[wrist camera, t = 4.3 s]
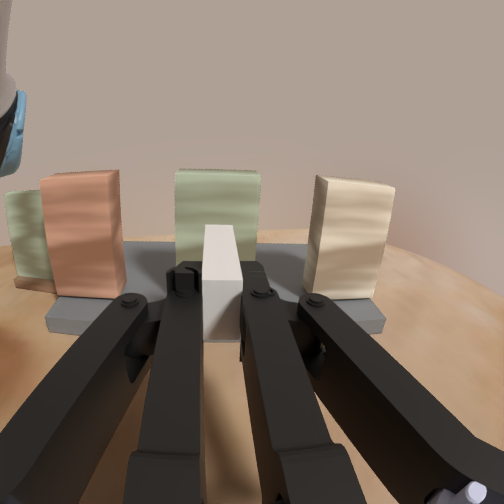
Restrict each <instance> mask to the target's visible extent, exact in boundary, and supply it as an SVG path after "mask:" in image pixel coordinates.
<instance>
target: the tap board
mask: <svg viewBox="0 0 504 504" xmlns="http://www.w3.org/2000/svg"><path fill="white" fill-rule="evenodd" d="M307 246H308V244H271V243H256V256H255V261H258V262H259V263H260V264H261V265H263V267H264V270H265V273H266V276H267V279H268V282H269V285H270V287H271V288H273V289H275V290H276V291H277V293H278V295H279V297H280V299H282V300H286V301H290V302H296V303H298V301H299V297H300V296H302V295H303V294H307V292H306V290H305V288H304V286H303V284H302V281H303V274H304V267H305V260H306V253H307ZM123 249H124V259H125V268H126V277H127V283H126V285H125V287H124V289H123V291H122V293H121V295H122V294H125V293H138V294H142V295H144V296H145V297H146V298H147V301H148V303H149V302H155V301H160V300H162V299H164V298H166V296H167V282H166V272H167V271H168V270H169V269H171V268H172V267H176V247H175V242H139V241H123ZM113 300H114V298H95V297H78V296H63V295H60V297H59V298H58V299H57V301H56V302H55V303H54V305H53V306H52V307H51V309H50V310H49V312H48V313H47V314H46V316H45V319H46V323H47V326H48V329H49V332H55V333H63V334H72V335H82V333H83V332H84V331H85V330H86V329H87V328H88V327H89V326H90V325H91V324H92V322H93V321H94V320H95V319H96V318H97V317H98V316H99V315H100V314H101V313H102V312H103V311H104V309H105V308H106V307H107V306H108V305H109V304H110V303H111V302H112V301H113ZM331 300H332V301H333V302H334V303H335V304H336V305H337V306H338V307H340V308H341V309H342V310H343V311H344V312H345V313H346V314H347V315H348V316H349V317H350V318H351V319H353V320H354V321H355V322H356V323H357V324H358V325H359V326H360V327H361V328H362V329H363V330H364V331H365V332H366V333H368V334H376V333H382V330H383V327H384V324H385V321H386V317H385V316H384V315H383V314H382V313H381V311H380V310H379V309H378V308H377V306H376V305H375V304H374V303H373V301H372V300H371V299H370V298H356V299H331ZM203 342H241V334H240V340H203Z"/></svg>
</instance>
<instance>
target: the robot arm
mask: <svg viewBox="0 0 504 504" xmlns="http://www.w3.org/2000/svg"><path fill="white" fill-rule="evenodd" d="M11 5H12V0H0V177H3V176H6V175H11V174H13V173H15V172H16V170H17V169H18V168H19V165H20V161H21V154H22V143H23V128H24V120H25V109H26V93H25V92H24V91H19V90H17V91H16V85H15V81H14V79H13V78H12V77H11V76H10V75H9V74H7V73H5V71H6V50H7V37H8V27H9V19H10V12H11ZM166 282H167V296H166V298H164V299H162V300H160V301H155V302H149V303H148V301H147V298H146V297H145V296H144V295H142V294H138V293H125V294H122V295H120V296H118V297H116V298H115V299H114V300H113V301H112V302H111V303H110V304H109V305H108V306H107V307H106V308H105V309H104V311H103V312H102V313H101V314H100V315H99V316H98V317H97V318H96V319H95V320H94V321H93V322H92V324H91V325H90V326H89V327H88V328H87V329H86V330H85V331H84V332H83V333H82V335H81V336H80V337H79V338H78V339H77V340H76V341H75V342H74V344H73V345H72V346H71V347H70V348H69V349H68V350H67V352H66V353H65V354H64V355H63V356H62V357H61V358H60V360H59V361H58V362H57V363H56V364H55V365H54V367H53V368H52V369H51V370H50V371H49V373H48V374H47V375H46V376H45V377H44V379H43V380H42V381H41V382H40V383H39V385H38V386H37V387H36V388H35V389H34V391H33V392H32V393H31V394H30V396H29V397H28V398H27V399H26V401H25V402H24V403H23V404H22V406H21V407H20V408H19V409H18V411H17V412H16V413H15V415H14V416H13V417H12V418H11V420H10V421H9V422H8V424H7V425H6V426H5V428H4V429H3V430H2V432H1V433H0V504H78V502H79V500H80V498H81V496H82V494H83V492H84V490H85V488H86V486H87V484H88V482H89V480H90V479H91V477H92V475H93V473H94V471H95V469H96V467H97V465H98V463H99V461H100V459H101V457H102V455H103V453H104V451H105V449H106V448H107V446H108V444H109V442H110V440H111V438H112V436H113V434H114V432H115V430H116V429H117V427H118V425H119V423H120V421H121V419H122V417H123V416H124V414H125V412H126V410H127V408H128V406H129V404H130V403H131V401H132V399H133V397H134V395H135V393H136V392H137V390H138V388H139V386H140V384H141V383H142V381H143V379H144V377H145V375H146V374H147V372H148V370H149V368H150V366H151V365H152V366H151V371H150V377H149V382H148V388H147V394H146V399H145V405H144V411H143V418H142V424H141V431H140V438H139V445H138V449H137V451H134V452H132V453H131V455H130V458H129V463H128V469H127V476H126V484H125V493H124V502H123V504H207V496H206V476H205V449H204V401H203V340H240V334H241V343H240V361H239V362H242V364H243V371H244V379H245V386H246V393H247V400H248V407H249V414H250V421H251V428H252V434H253V441H254V448H255V454H256V461H257V467H258V473H259V480H260V486H261V493H262V504H367V502H366V500H365V497H364V494H363V492H362V489H361V486H360V484H359V481H358V478H357V476H356V473H355V470H354V468H353V465H352V463H351V460H350V457H349V455H348V453H347V451H346V449H345V447H344V446H343V445H342V444H336V443H334V442H332V440H331V438H330V435H329V432H328V429H327V427H326V424H325V421H324V418H323V415H322V413H321V410H320V407H319V404H318V401H317V399H316V396H315V393H316V395H317V396H318V397H319V399H320V400H321V401H322V403H323V404H324V406H325V407H326V408H327V410H328V411H329V412H330V414H331V415H332V417H333V418H334V419H335V421H336V422H337V423H338V425H339V426H340V427H341V429H342V430H343V432H344V433H345V434H346V436H347V437H348V438H349V440H350V441H351V442H352V444H353V445H354V446H355V448H356V449H357V450H358V452H359V453H360V454H361V456H362V457H363V458H364V460H365V461H366V462H367V464H368V465H369V466H370V468H371V469H372V470H373V471H374V473H375V474H376V475H377V477H378V478H379V479H380V481H381V482H382V483H383V485H384V486H385V487H386V488H387V490H388V491H389V492H390V494H391V495H392V496H393V497H394V498H395V499H396V500H397V502H398V503H399V504H504V451H502V450H500V449H498V448H496V447H494V446H492V445H490V444H488V443H486V442H484V441H482V440H480V439H478V438H476V437H475V436H474V435H473V434H472V433H471V432H470V431H469V430H468V429H467V428H466V427H465V426H464V425H463V424H462V423H461V422H460V421H459V420H458V419H457V418H456V417H455V416H454V415H453V414H451V413H450V412H449V411H448V410H447V409H446V408H445V407H444V406H443V405H442V404H441V403H440V402H439V401H438V400H437V399H436V398H435V397H434V396H433V395H432V394H431V393H430V392H429V391H428V390H427V389H426V388H425V387H424V386H423V385H421V384H420V383H419V382H418V381H417V380H416V379H415V378H414V377H413V376H412V375H411V374H410V373H409V372H408V371H407V370H406V369H405V368H404V367H403V366H402V365H400V364H399V363H398V362H397V361H396V360H395V359H394V358H393V357H392V356H391V355H390V354H389V353H388V352H387V351H386V350H385V349H384V348H382V347H381V346H380V345H379V344H378V343H377V342H376V341H375V340H374V339H373V338H372V337H371V336H370V335H369V334H368V333H366V332H365V331H364V330H363V329H362V328H361V327H360V326H359V325H358V324H357V323H356V322H355V321H354V320H353V319H351V318H350V317H349V316H348V315H347V314H346V313H345V312H344V311H343V310H342V309H341V308H340V307H338V306H337V305H336V304H335V303H334V302H333V301H332V300H331V299H330V298H328V297H327V296H324V295H321V294H319V293H307V294H303V295H302V296H300V297H299V301H298V303H296V302H290V301H286V300H282V299H280V297H279V295H278V293H277V291H276V290H275V289H273V288H271V287H270V285H269V282H268V279H267V276H266V273H265V270H264V267H263V265H261V264H260V263H259V262H258V261H239V257H238V251H237V246H236V241H235V236H234V230H233V225H205V236H204V250H203V261H182V262H181V263H179V264H178V265H177V266H176V267H172V268H171V269H169V270H168V271H167V272H166ZM314 392H315V393H314Z"/></svg>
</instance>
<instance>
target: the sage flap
mask: <svg viewBox="0 0 504 504" xmlns="http://www.w3.org/2000/svg"><path fill="white" fill-rule="evenodd" d="M260 187H261V176H260V175H259V174H258V173H257V172H256V171H250V170H249V171H248V170H223V169H179V170H178V171H177V173H176V174H175V247H176V266H177V265H178V264H179V263H181V262H182V261H203V250H204V236H205V225H233V230H234V236H235V241H236V246H237V251H238V257H239V261H255V256H256V242H257V228H258V215H259V200H260Z"/></svg>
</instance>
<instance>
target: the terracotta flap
mask: <svg viewBox="0 0 504 504" xmlns="http://www.w3.org/2000/svg"><path fill="white" fill-rule="evenodd" d="M40 189H41V200H42V209H43V218H44V225H45V233H46V239H47V245H48V251H49V257H50V262H51V267H52V272H53V277H54V282H55V286H56V291H57V295H63V296H78V297H95V298H114V299H115V298H116V297H118V296H120V295H121V293H122V291H123V289H124V287H125V285H126V283H127V277H126V268H125V259H124V249H123V237H122V224H121V208H120V184H119V170H104V171H85V172H70V173H57V174H54V175H51V176H49V177H46V178H44V179H41V180H40Z"/></svg>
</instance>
